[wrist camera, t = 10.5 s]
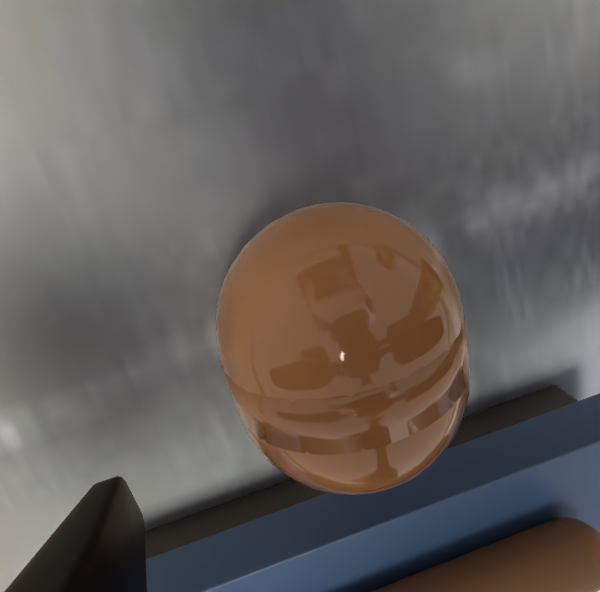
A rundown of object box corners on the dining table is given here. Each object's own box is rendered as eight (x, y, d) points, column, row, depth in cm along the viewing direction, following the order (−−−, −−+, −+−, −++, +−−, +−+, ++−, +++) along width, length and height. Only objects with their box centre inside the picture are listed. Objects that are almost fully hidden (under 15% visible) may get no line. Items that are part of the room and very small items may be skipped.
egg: (385, 163, 12) (514, 189, 7) (419, 374, 14) (531, 501, 9) (184, 219, 11) (172, 290, 6) (255, 428, 14) (285, 592, 9)
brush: (576, 366, 16) (729, 462, 11) (576, 478, 17) (707, 597, 13) (97, 537, 14) (53, 732, 9) (156, 640, 16) (143, 844, 11)
